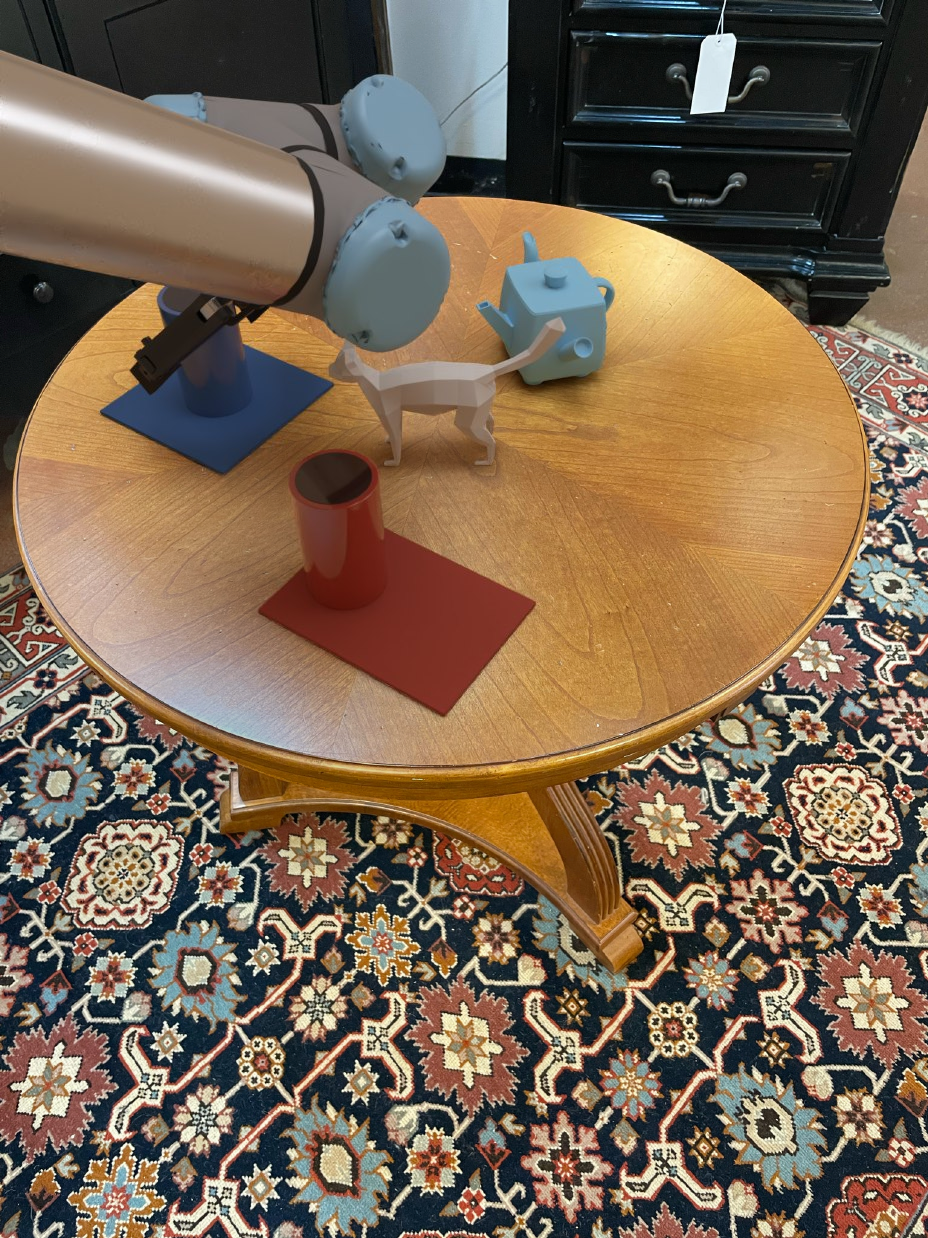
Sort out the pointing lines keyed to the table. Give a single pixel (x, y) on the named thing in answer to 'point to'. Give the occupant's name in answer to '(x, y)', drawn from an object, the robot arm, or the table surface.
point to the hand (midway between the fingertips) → (195, 344)
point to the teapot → (552, 314)
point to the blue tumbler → (210, 363)
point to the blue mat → (221, 438)
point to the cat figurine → (437, 389)
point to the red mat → (411, 623)
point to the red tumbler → (340, 527)
